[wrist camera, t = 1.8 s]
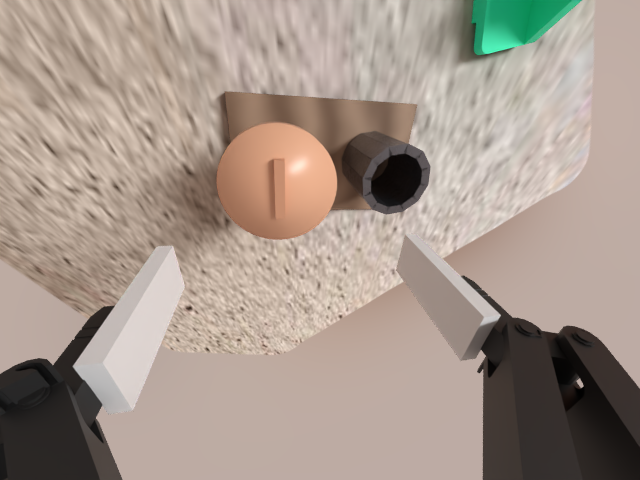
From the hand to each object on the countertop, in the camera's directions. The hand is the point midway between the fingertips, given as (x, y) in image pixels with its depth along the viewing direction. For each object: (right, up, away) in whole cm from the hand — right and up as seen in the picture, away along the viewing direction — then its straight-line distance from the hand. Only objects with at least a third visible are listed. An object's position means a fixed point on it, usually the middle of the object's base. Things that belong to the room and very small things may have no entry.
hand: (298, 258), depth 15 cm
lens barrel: (+9, +13, +24) cm, 29 cm away
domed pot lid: (-4, +9, +15) cm, 17 cm away
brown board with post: (+2, +14, +24) cm, 28 cm away
